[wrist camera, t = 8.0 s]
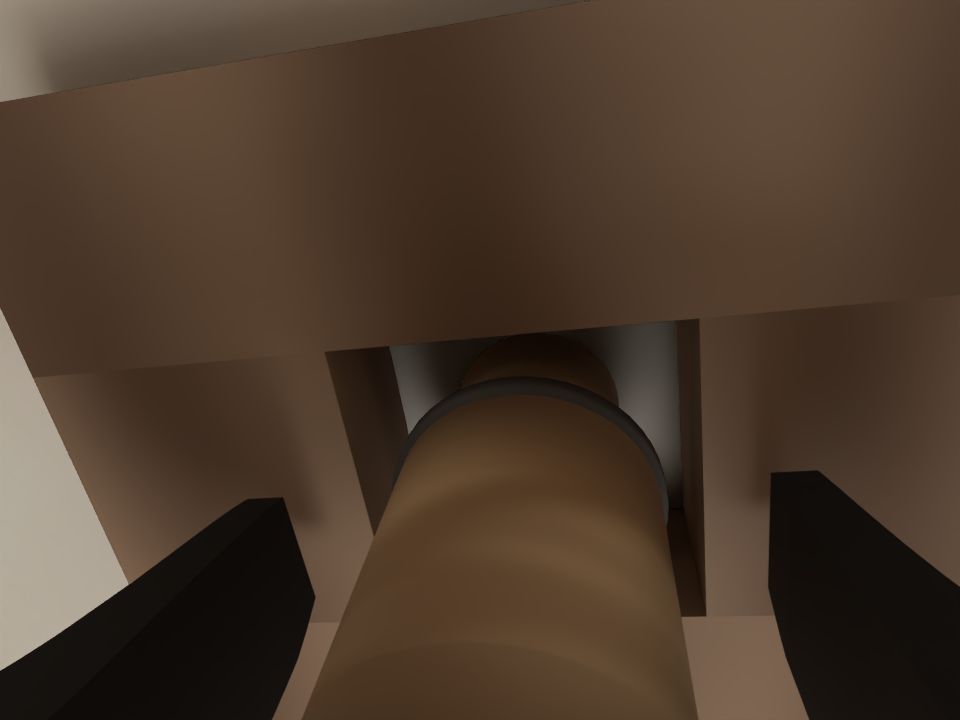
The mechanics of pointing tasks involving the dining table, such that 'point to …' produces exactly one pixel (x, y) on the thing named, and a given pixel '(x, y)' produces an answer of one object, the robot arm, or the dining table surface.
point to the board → (509, 275)
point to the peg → (517, 560)
